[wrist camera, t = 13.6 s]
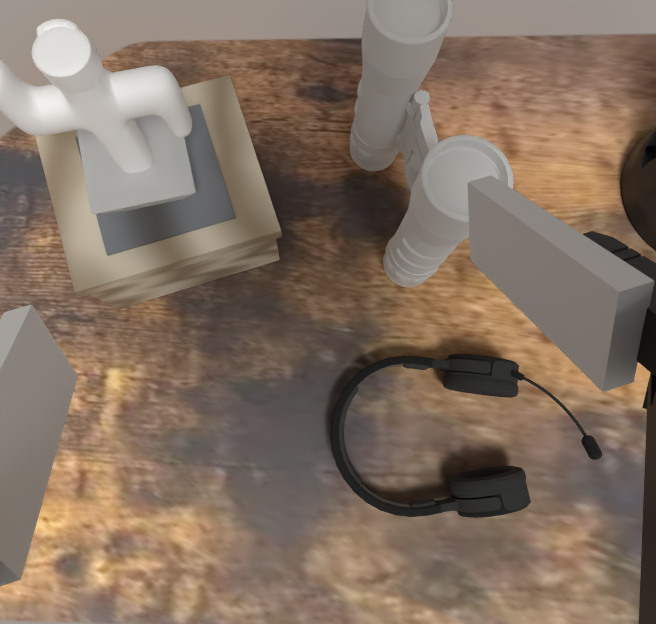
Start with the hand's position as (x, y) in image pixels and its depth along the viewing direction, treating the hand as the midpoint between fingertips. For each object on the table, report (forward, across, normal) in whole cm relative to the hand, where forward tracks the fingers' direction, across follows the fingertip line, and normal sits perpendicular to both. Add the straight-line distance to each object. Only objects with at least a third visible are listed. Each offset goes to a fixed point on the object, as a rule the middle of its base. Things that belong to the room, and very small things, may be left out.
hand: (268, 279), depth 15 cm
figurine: (+28, -7, -4) cm, 29 cm away
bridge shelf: (+33, -7, -10) cm, 35 cm away
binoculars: (+30, +12, -13) cm, 35 cm away
